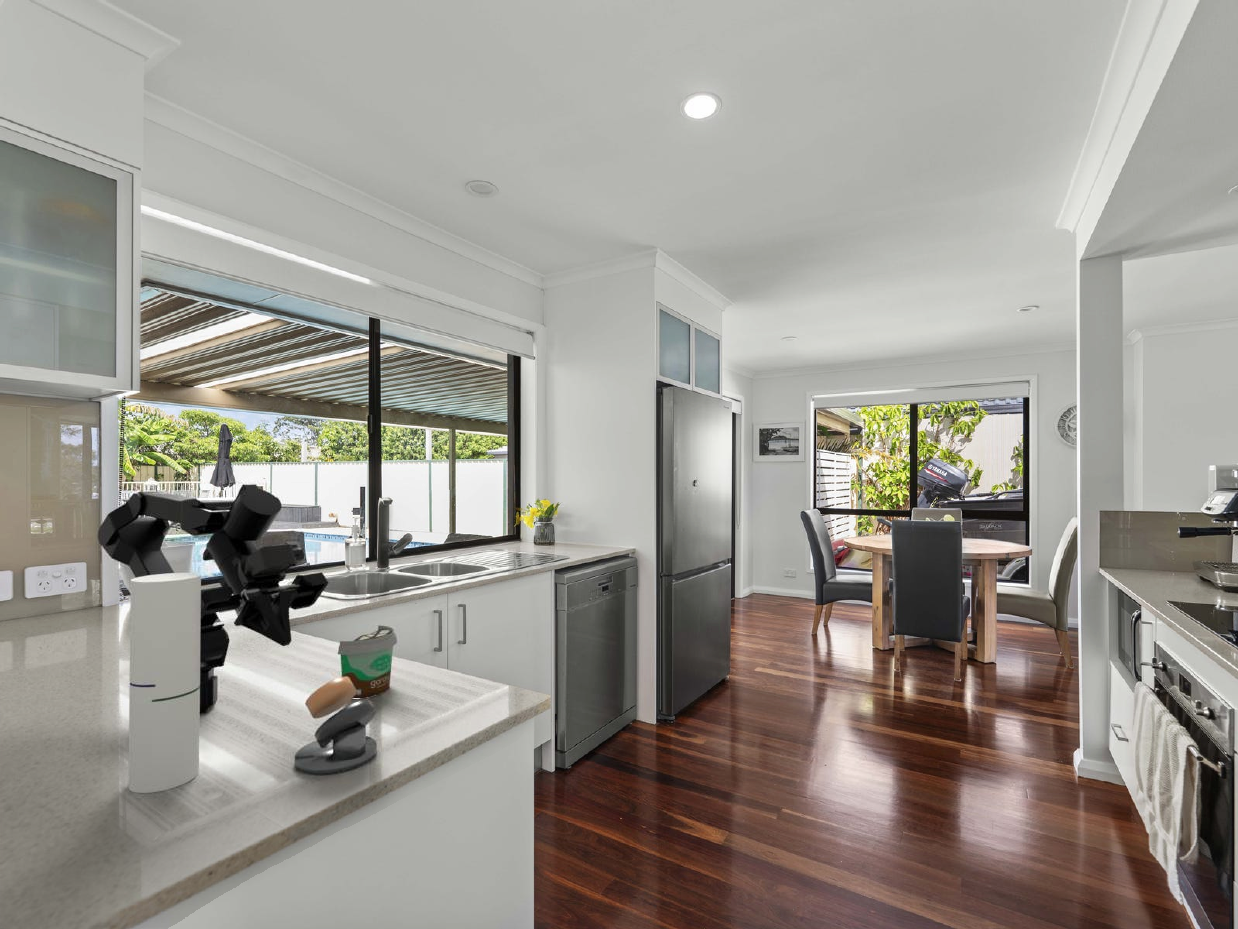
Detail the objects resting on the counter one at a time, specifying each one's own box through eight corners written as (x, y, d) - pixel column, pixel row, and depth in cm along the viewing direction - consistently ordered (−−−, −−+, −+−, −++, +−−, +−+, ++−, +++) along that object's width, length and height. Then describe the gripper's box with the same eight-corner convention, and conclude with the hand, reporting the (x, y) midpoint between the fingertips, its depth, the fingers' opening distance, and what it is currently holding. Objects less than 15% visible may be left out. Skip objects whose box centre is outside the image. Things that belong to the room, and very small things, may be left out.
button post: (277, 764, 83) (278, 702, 83) (343, 736, 92) (343, 680, 92) (329, 782, 78) (329, 716, 78) (393, 750, 87) (393, 691, 87)
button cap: (297, 722, 84) (297, 679, 84) (336, 707, 90) (336, 667, 90) (325, 730, 82) (325, 686, 82) (364, 714, 87) (364, 673, 87)
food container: (370, 705, 104) (371, 644, 104) (337, 702, 105) (337, 642, 105) (410, 681, 116) (410, 626, 116) (379, 678, 117) (380, 624, 117)
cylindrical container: (152, 766, 82) (154, 573, 83) (210, 764, 83) (212, 572, 83) (113, 794, 75) (116, 582, 75) (177, 792, 76) (179, 581, 76)
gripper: (196, 529, 85) (246, 620, 79) (320, 520, 101) (369, 595, 96) (164, 585, 88) (210, 675, 83) (289, 567, 105) (334, 642, 99)
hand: (287, 643), depth 90 cm, fingers closed
